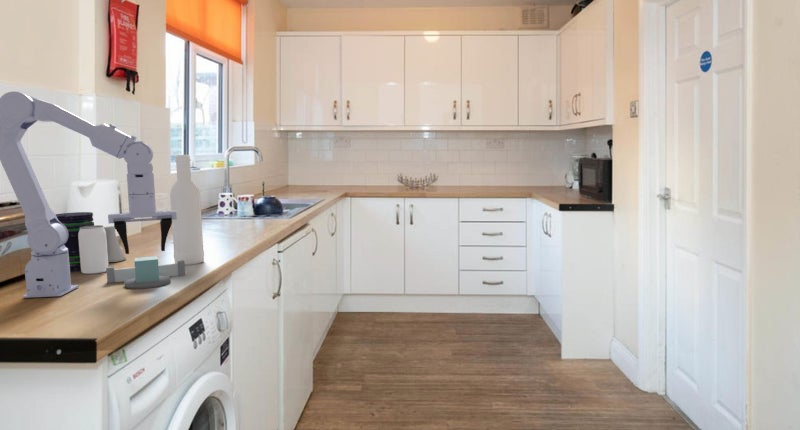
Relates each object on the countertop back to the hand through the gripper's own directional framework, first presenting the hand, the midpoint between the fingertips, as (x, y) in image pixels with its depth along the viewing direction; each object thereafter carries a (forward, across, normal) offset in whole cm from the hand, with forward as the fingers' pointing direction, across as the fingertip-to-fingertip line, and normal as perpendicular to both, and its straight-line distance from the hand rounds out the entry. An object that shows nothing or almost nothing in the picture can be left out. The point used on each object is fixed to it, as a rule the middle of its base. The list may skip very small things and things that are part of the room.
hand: (145, 252), depth 141 cm
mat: (+8, 0, 0) cm, 8 cm away
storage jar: (+8, +17, -32) cm, 37 cm away
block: (+7, 0, 0) cm, 7 cm away
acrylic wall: (+8, 0, -7) cm, 10 cm away
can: (+8, +12, -24) cm, 28 cm away
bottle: (+8, -11, -25) cm, 28 cm away
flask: (+8, +9, -40) cm, 42 cm away
